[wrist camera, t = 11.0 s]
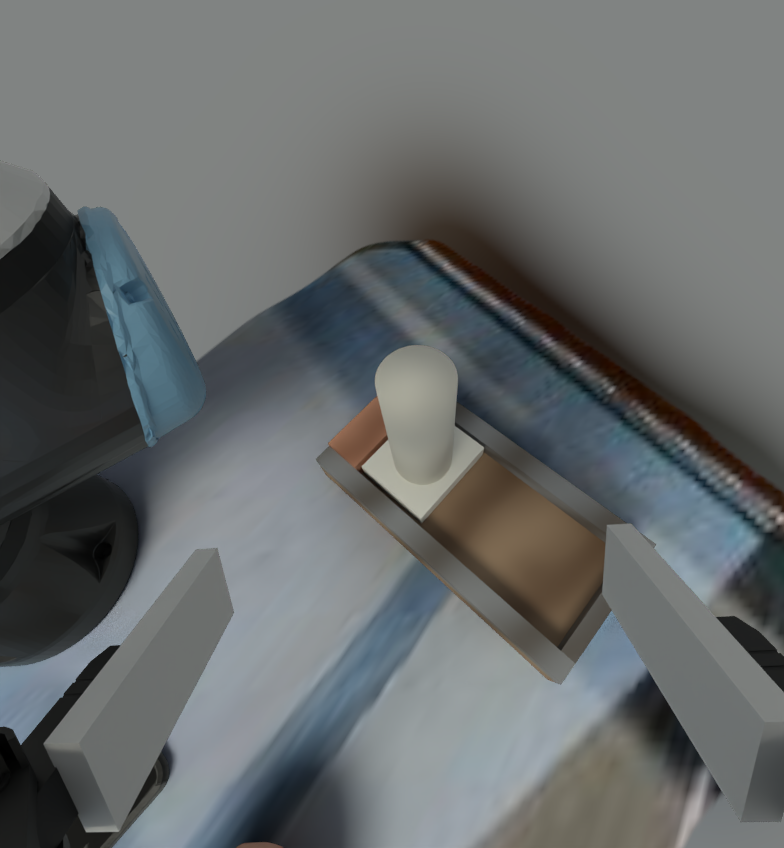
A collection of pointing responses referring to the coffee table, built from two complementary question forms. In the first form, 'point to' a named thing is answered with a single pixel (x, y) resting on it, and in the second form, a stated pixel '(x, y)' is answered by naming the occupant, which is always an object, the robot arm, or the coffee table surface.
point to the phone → (100, 843)
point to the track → (497, 539)
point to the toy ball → (259, 845)
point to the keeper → (420, 430)
